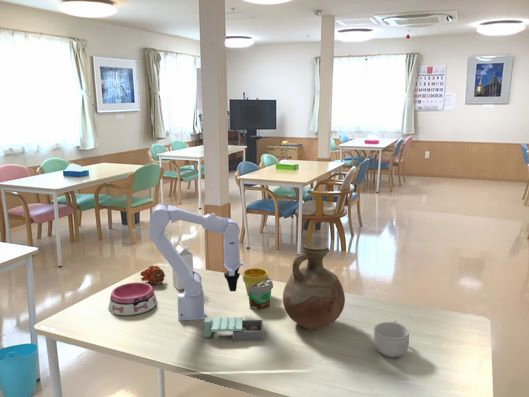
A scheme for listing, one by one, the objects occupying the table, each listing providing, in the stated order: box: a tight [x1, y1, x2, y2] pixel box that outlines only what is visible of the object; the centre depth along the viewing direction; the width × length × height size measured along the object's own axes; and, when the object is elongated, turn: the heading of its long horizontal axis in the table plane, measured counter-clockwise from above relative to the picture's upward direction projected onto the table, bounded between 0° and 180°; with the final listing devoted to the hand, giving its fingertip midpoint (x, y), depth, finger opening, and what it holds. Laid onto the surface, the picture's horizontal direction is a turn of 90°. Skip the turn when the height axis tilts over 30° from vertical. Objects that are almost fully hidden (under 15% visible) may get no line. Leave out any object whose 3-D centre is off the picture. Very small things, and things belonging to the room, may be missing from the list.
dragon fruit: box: [140, 265, 166, 285], centre depth 198 cm, size 8×8×12 cm
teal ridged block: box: [203, 316, 243, 338], centre depth 152 cm, size 12×8×6 cm, turn 92°
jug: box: [282, 244, 346, 331], centre depth 157 cm, size 22×22×30 cm
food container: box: [246, 276, 274, 310], centre depth 173 cm, size 12×6×10 cm, turn 143°
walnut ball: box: [250, 326, 258, 331], centre depth 153 cm, size 3×3×3 cm
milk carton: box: [171, 241, 194, 291], centre depth 193 cm, size 7×7×19 cm
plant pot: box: [242, 267, 269, 297], centre depth 185 cm, size 10×10×10 cm
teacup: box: [373, 319, 411, 358], centre depth 144 cm, size 14×11×8 cm
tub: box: [232, 319, 264, 343], centre depth 152 cm, size 10×8×4 cm
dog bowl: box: [108, 282, 158, 317], centre depth 176 cm, size 18×19×7 cm
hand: (233, 286), depth 168 cm, fingers open, 7 cm apart
